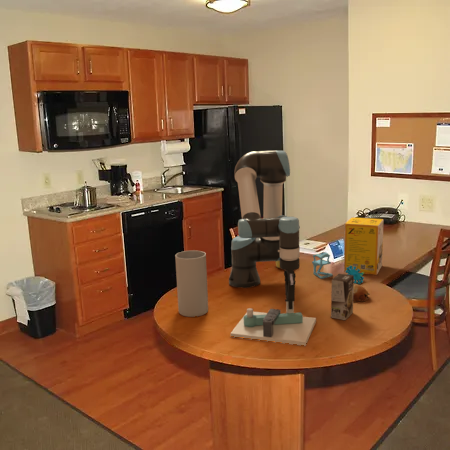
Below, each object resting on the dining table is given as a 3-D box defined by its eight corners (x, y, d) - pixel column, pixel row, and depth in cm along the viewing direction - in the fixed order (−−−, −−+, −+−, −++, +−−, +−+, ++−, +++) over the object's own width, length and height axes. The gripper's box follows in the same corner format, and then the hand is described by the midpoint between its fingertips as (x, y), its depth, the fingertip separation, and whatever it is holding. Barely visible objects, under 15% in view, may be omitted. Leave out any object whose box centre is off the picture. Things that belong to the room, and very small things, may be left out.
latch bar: (244, 327, 193) (244, 312, 192) (243, 322, 198) (242, 307, 197) (303, 323, 194) (303, 309, 193) (300, 318, 199) (300, 304, 198)
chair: (321, 272, 260) (321, 249, 258) (332, 275, 254) (333, 252, 251) (309, 275, 256) (309, 252, 254) (321, 279, 249) (321, 255, 247)
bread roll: (356, 301, 230) (349, 284, 231) (375, 296, 222) (368, 279, 223) (344, 307, 223) (337, 290, 224) (363, 302, 216) (356, 285, 216)
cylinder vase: (211, 306, 219) (209, 250, 214) (203, 318, 207) (201, 259, 202) (183, 305, 222) (180, 250, 216) (174, 316, 210) (171, 258, 204)
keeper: (262, 336, 186) (261, 321, 184) (270, 322, 197) (270, 308, 196) (272, 337, 184) (272, 322, 183) (280, 323, 196) (280, 309, 194)
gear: (352, 283, 237) (343, 265, 242) (345, 289, 241) (336, 271, 246) (369, 282, 242) (360, 264, 247) (362, 288, 246) (353, 270, 251)
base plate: (230, 336, 189) (230, 333, 189) (247, 314, 210) (247, 311, 209) (305, 346, 180) (305, 342, 180) (316, 321, 200) (316, 318, 200)
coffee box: (346, 320, 200) (346, 281, 197) (330, 317, 204) (330, 279, 200) (353, 312, 208) (354, 275, 204) (338, 309, 211) (338, 272, 207)
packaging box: (350, 262, 274) (351, 217, 268) (382, 265, 267) (383, 219, 261) (343, 271, 260) (344, 223, 254) (376, 274, 253) (378, 225, 247)
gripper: (277, 253, 199) (278, 309, 205) (281, 263, 187) (282, 323, 192) (296, 252, 199) (297, 308, 205) (302, 262, 187) (302, 322, 192)
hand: (290, 315), depth 198 cm, fingers closed
